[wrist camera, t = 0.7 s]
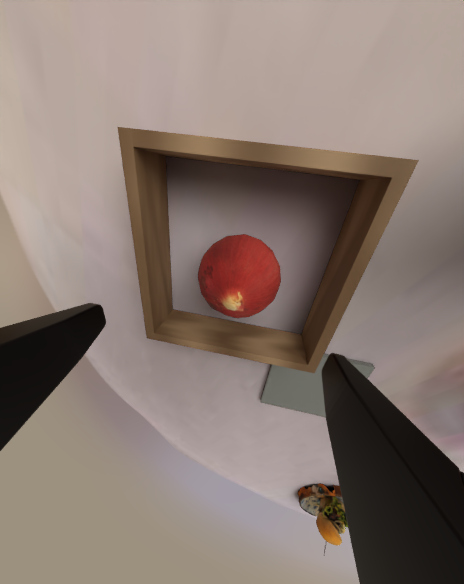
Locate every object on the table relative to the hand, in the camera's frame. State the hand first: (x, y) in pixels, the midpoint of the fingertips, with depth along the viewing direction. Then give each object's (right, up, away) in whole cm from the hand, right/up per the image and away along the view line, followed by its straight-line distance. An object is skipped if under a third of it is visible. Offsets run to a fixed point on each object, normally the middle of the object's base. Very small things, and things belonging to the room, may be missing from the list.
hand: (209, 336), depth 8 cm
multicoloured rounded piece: (+20, -37, +30) cm, 52 cm away
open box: (+2, +5, +10) cm, 11 cm away
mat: (+10, -9, +16) cm, 21 cm away
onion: (+2, +5, +10) cm, 11 cm away
